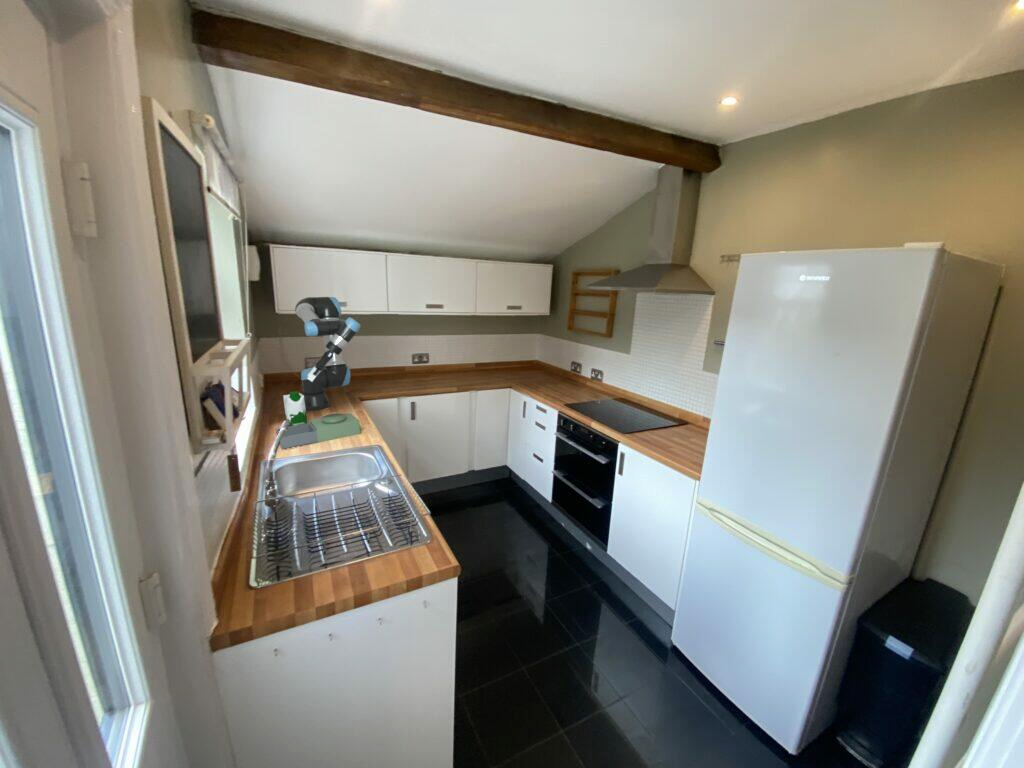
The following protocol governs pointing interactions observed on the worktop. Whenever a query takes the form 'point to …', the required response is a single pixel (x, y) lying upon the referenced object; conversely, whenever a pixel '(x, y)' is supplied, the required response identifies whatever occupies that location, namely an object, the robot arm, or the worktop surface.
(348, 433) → the side socket deck
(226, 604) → the worktop surface
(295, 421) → the soya milk
